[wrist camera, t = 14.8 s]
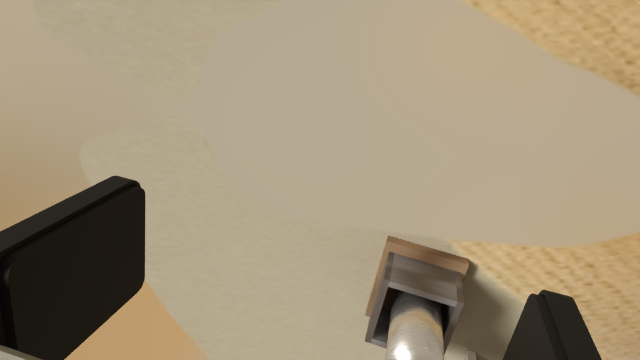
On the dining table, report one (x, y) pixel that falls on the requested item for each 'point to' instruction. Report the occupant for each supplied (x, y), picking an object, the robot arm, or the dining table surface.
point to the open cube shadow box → (415, 285)
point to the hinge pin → (414, 328)
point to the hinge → (470, 355)
